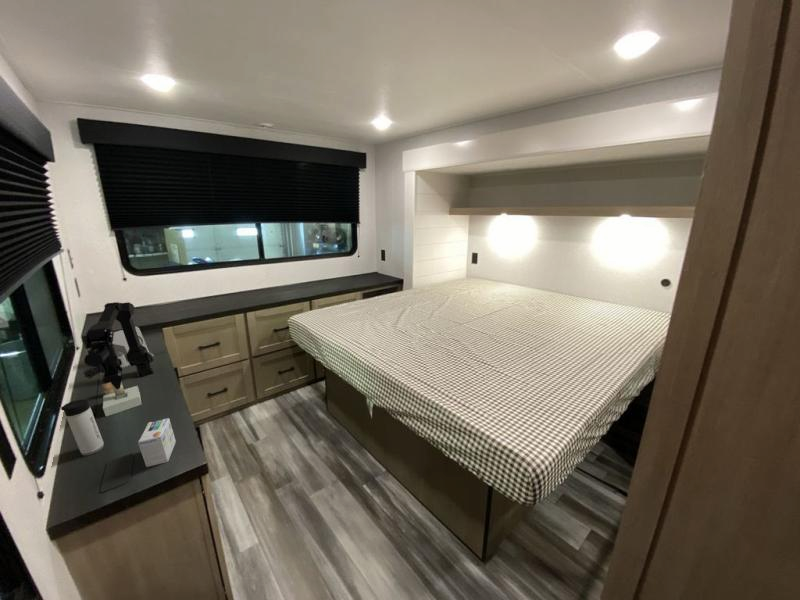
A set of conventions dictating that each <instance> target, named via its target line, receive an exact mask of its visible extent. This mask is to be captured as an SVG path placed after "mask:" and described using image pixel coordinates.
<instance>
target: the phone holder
mask: <svg viewBox="0 0 800 600" xmlns="http://www.w3.org/2000/svg"><path fill="white" fill-rule="evenodd" d="M135 329H136V332H137V335H138V338H139V341H140V344H141V345H142V346H144V347H145V348H146V349H147V351H148V352H149V353H150V354H151V355H153V356H154V357H155V355H154V354H153V353H152V352H150V350H149V348H148V345H147V343H146V341H145V337H144V336H143V334H142V332H141V330H140V328H139V327H138V326H135ZM112 343H113V346H114V345H115V346H119V347H124V350H125V352H126V354H127V353H128V351H129V346H128V344H127V341H126V338H125V335H124V332H123V329H122V330H121V329H120V330H118V331H114V336H113V342H112ZM115 352H116V351H115ZM116 354H117V358H118V359H121V362H122V365H120V367H122V369H123V367H124V368H126V367H129V366H130V364H129V362H128V360H126V358H127V357H126V356H125V354H124V353H123V352H120V351H117V352H116ZM128 365H129V366H128ZM125 366H126V367H125Z"/></svg>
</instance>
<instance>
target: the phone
mask: <svg viewBox="0 0 800 600" xmlns="http://www.w3.org/2000/svg"><path fill="white" fill-rule="evenodd" d="M134 459H135V454H134V453H128V454H125V455H122V456H120V457H117V458H114V459H112V460H110V461H108V462H107V463H106V465H105V470H104V474H103V476H102V481H101V485H100V490H99V492H100V494H103V493H107V492H109V491H111V490H114V489H117V488H119V487H122V486H125V485H127V484H128V483H129V482H130V481H131V477H132V471H133V465H134Z"/></svg>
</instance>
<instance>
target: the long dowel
mask: <svg viewBox="0 0 800 600" xmlns="http://www.w3.org/2000/svg"><path fill="white" fill-rule="evenodd" d="M111 384H112V383H111ZM112 387H113V389H114V392H115V395H116V396H122V395H124V394H125V391H124V390H125V388H124V385H123V382H122V381H121V386H120V389H118V390H117V389H116V388H115V387H114V386H113V384H112Z"/></svg>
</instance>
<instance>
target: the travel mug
mask: <svg viewBox="0 0 800 600" xmlns="http://www.w3.org/2000/svg"><path fill="white" fill-rule="evenodd" d="M60 410H61V411H63V412H64V415H65V417H66V420H67V423H68V425H69V427H70V429H71V432H72V434H73V437H74V439H75V443H76V444H77V448H78V449H79V452H80V454H81V455H82V456H91V455H94V454H95V453H98V452H99V451H100V450H102V449H103V448H104V446H105V443H104V440H103V437H102V434H101V432H100V430H99V427H98V424H97V422H96V418H95V416H94V413H93V410H92V408H91V406H90V404H89V401H88V400H85V399H78V400H73V401H70V402H67V403H66V404H64V405H63V406H61V407H60Z"/></svg>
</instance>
